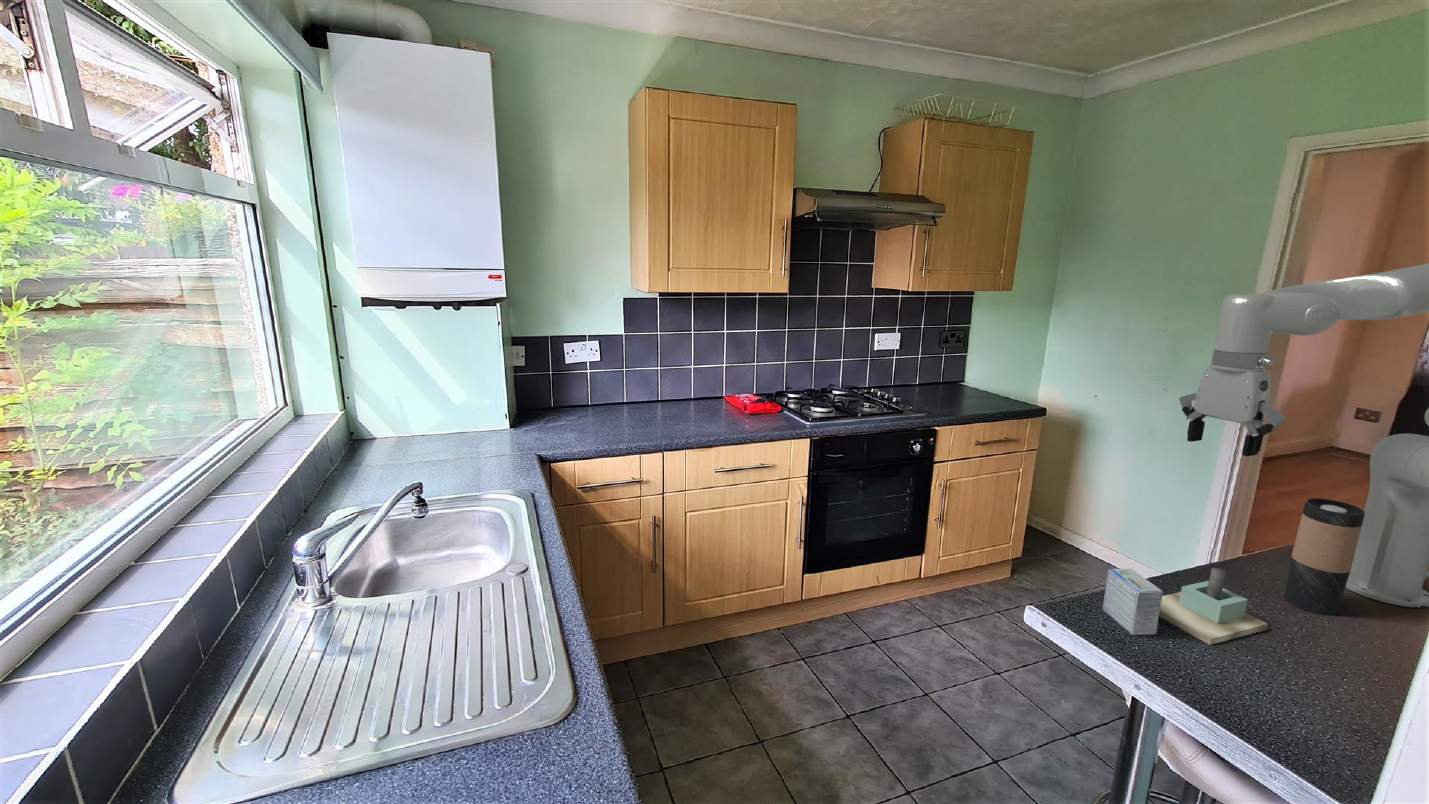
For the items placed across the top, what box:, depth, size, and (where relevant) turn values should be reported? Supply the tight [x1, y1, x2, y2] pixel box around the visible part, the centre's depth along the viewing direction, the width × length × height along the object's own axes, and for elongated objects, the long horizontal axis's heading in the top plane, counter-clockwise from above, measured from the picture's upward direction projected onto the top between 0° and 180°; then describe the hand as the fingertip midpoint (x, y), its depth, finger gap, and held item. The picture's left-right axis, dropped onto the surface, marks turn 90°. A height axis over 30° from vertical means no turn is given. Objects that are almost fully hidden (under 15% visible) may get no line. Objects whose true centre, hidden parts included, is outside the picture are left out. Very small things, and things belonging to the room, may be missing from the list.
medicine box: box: [1102, 568, 1163, 636], centre depth 103 cm, size 8×4×9 cm, turn 0°
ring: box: [1179, 580, 1249, 624], centre depth 105 cm, size 7×7×4 cm
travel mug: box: [1283, 497, 1365, 616], centre depth 106 cm, size 8×8×20 cm
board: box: [1159, 567, 1269, 646], centre depth 104 cm, size 14×12×9 cm
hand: (1220, 447), depth 111 cm, fingers open, 9 cm apart
